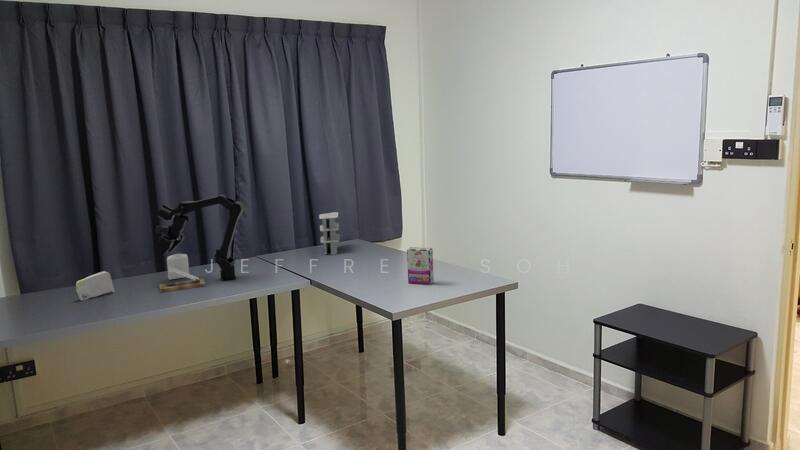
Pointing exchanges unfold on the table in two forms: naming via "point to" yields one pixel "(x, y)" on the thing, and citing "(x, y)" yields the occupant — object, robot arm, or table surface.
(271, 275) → the table surface
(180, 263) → the photo printer
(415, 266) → the candy bar box
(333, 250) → the file organizer
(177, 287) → the walnut board
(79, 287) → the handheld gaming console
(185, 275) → the bar
